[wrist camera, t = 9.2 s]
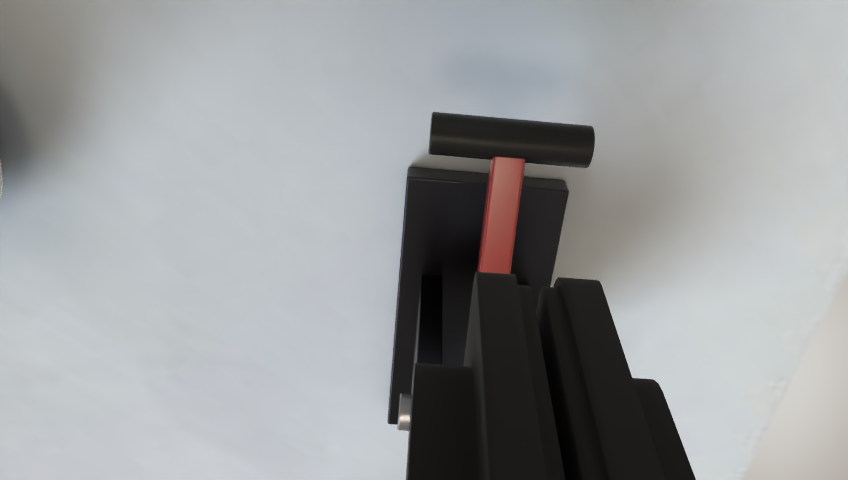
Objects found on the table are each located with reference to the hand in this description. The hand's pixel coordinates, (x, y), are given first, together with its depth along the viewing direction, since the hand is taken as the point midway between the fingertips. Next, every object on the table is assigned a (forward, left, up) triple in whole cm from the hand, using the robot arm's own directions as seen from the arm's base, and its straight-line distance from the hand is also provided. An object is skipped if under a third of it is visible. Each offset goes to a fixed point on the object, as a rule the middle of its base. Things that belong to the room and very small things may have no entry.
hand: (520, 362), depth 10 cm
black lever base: (+12, +5, -22) cm, 25 cm away
